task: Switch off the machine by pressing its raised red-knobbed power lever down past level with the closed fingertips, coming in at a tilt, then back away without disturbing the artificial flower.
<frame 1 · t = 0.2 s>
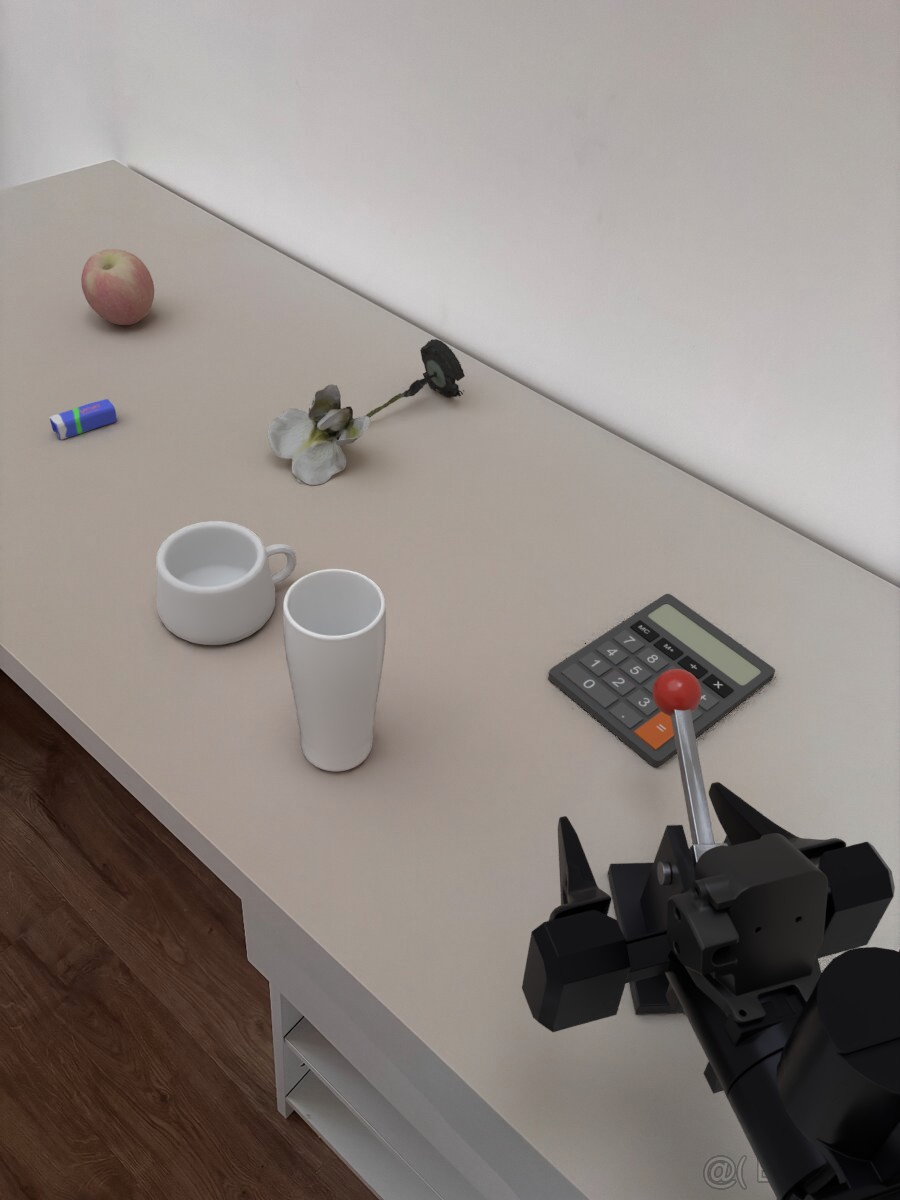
hand: (638, 803, 59), 15 cm above the table, tool horizontal, fingers open, 9 cm apart
apple: (124, 322, 121), on the table
lever: (691, 776, 67), point 10 cm above the table, hinge at 15.0°
switch bracket: (680, 938, 69), on the table
artificial flower: (373, 436, 108), on the table
drinking glass: (336, 748, 79), on the table
calculator: (661, 678, 86), on the table
eraser: (85, 429, 106), on the table
mug: (231, 605, 89), on the table
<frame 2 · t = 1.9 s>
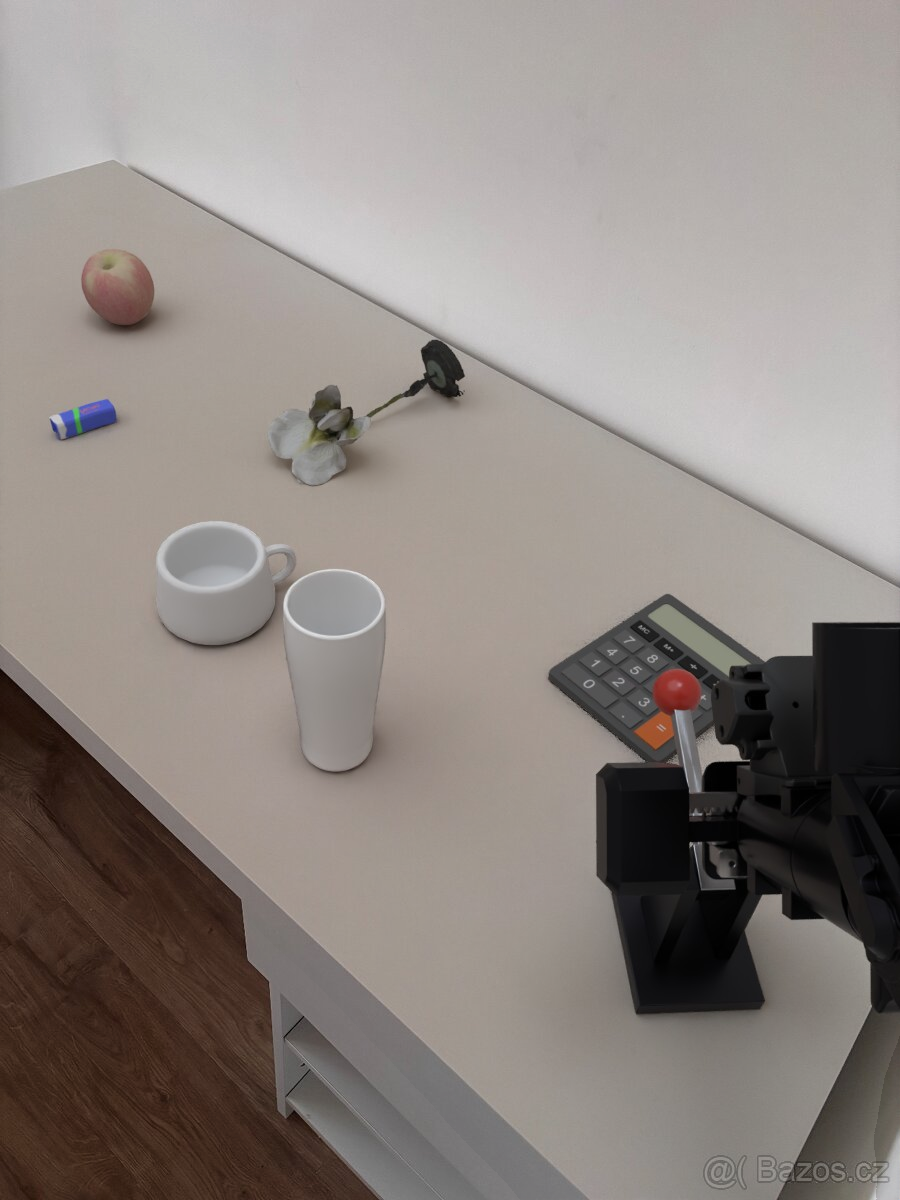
hand: (725, 796, 61), 14 cm above the table, tool tilted 45°, fingers closed
nothing on the table moved.
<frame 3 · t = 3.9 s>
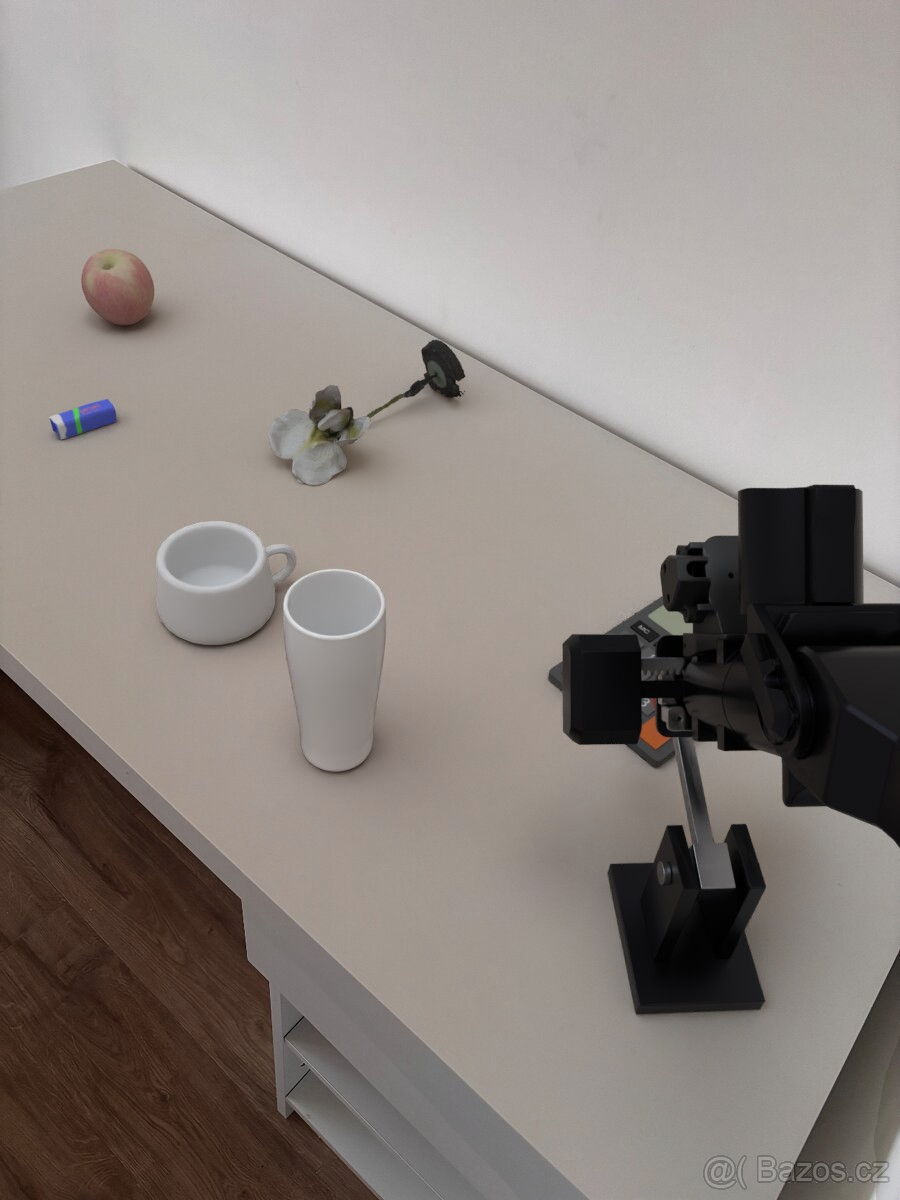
hand: (680, 678, 69), 12 cm above the table, tool tilted 45°, fingers closed, pressing on lever
lever: (690, 778, 67), point 9 cm above the table, hinge at 12.3°, touching gripper
everything else where it was.
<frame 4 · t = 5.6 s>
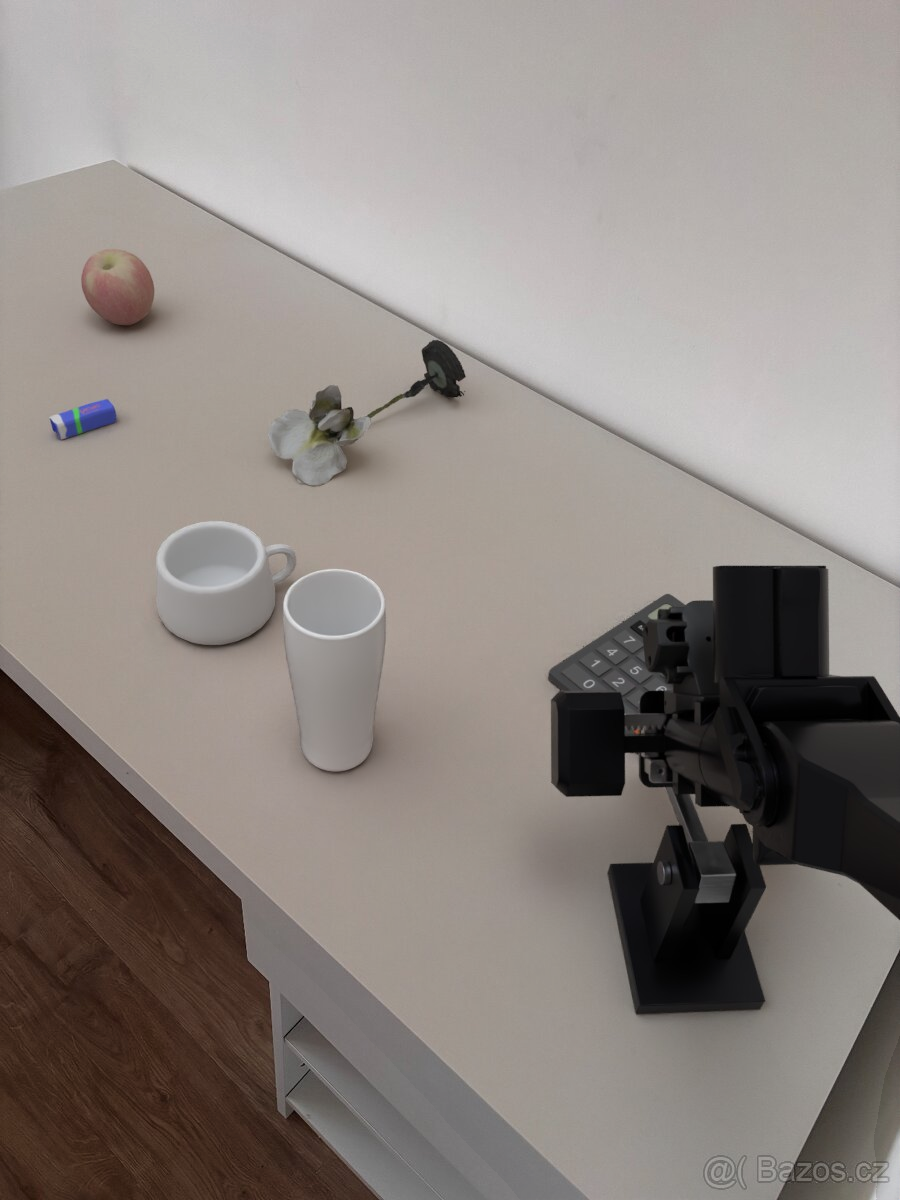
hand: (664, 727, 73), 7 cm above the table, tool tilted 45°, fingers closed, pressing on lever
lever: (681, 802, 69), point 7 cm above the table, hinge at -12.2°, touching gripper
everything else where it was.
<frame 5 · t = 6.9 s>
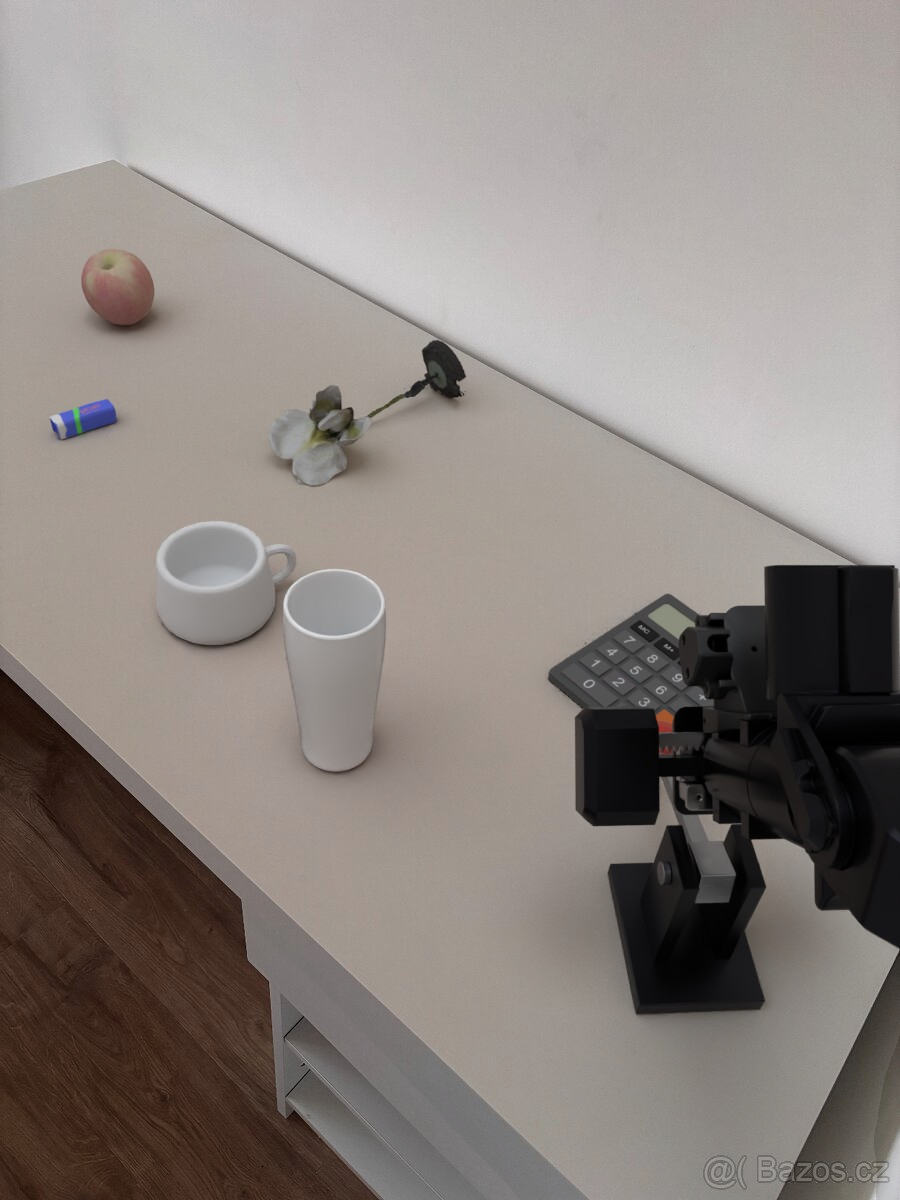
hand: (697, 745, 66), 12 cm above the table, tool tilted 45°, fingers closed
lever: (681, 802, 69), point 7 cm above the table, hinge at -12.2°
everything else where it was.
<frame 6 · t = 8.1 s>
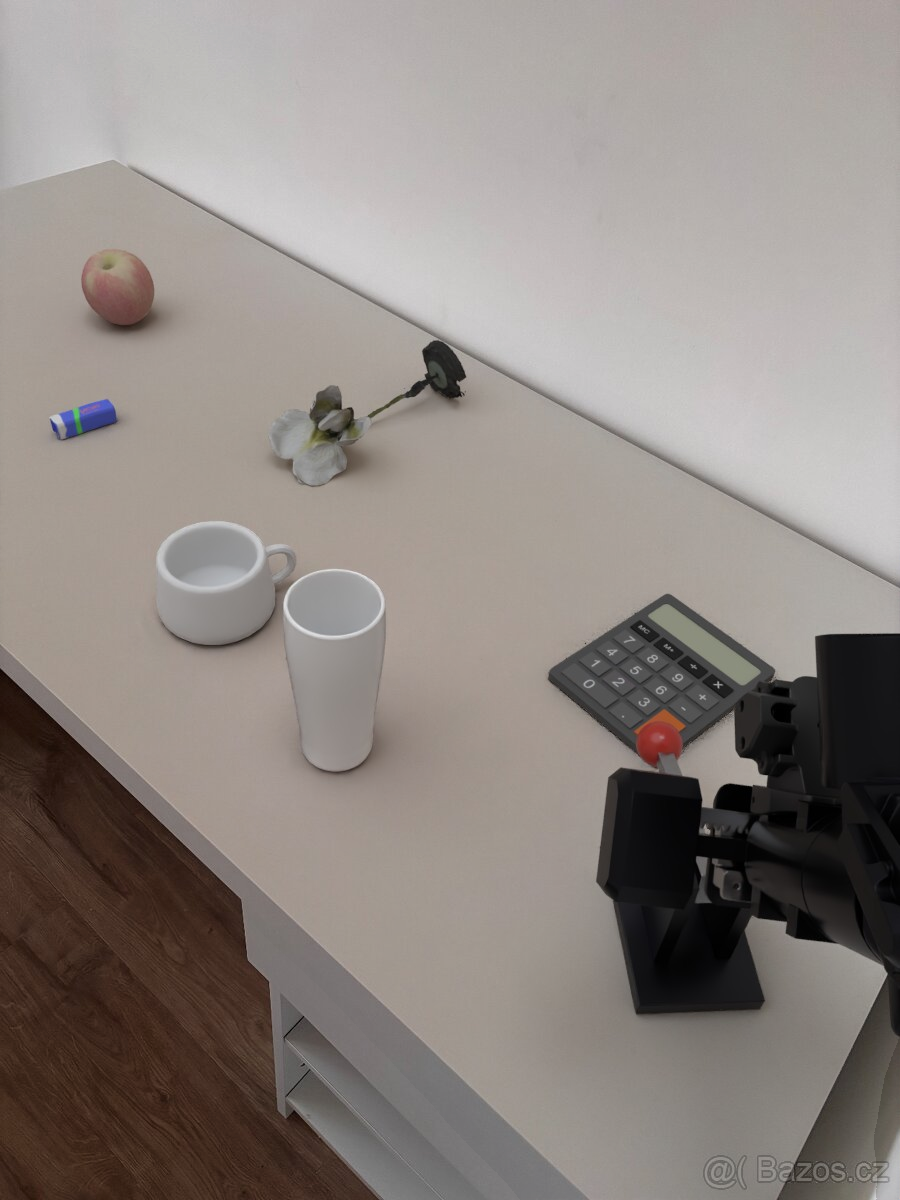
hand: (732, 833, 60), 13 cm above the table, tool tilted 40°, fingers closed
nothing on the table moved.
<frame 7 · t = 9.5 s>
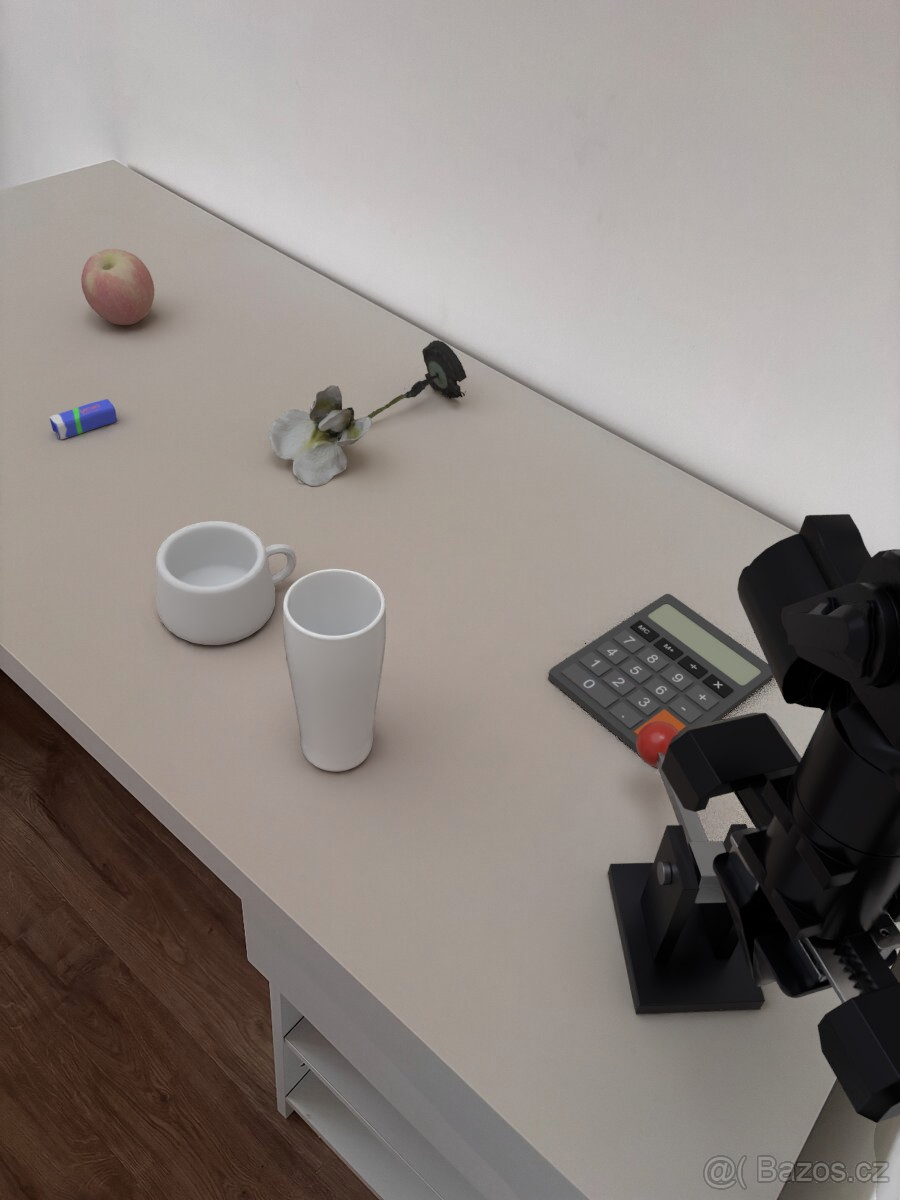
hand: (762, 978, 54), 13 cm above the table, tool pointing down, fingers closed
nothing on the table moved.
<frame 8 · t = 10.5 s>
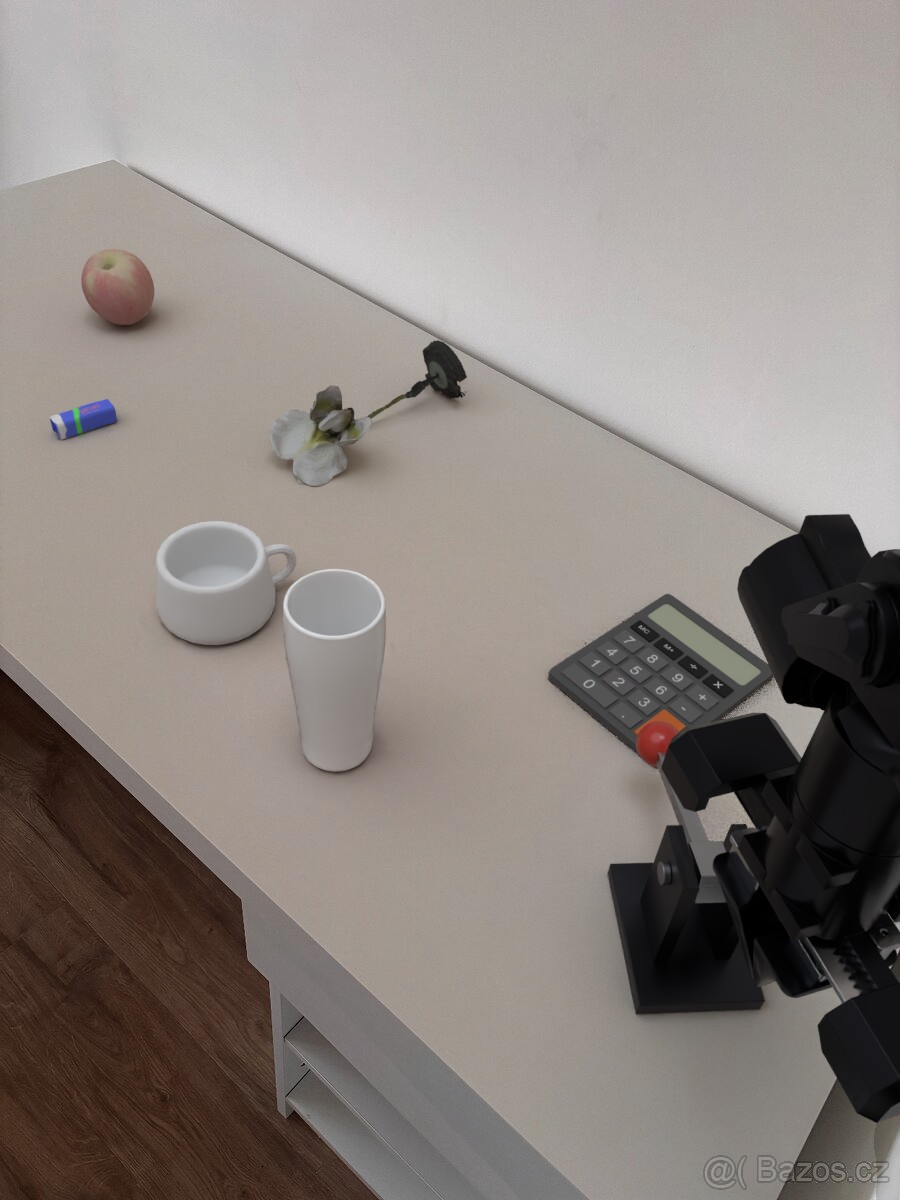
hand: (762, 978, 54), 13 cm above the table, tool pointing down, fingers closed
nothing on the table moved.
at the end: lever at -12° (first picture: +15°); lever reached +15° during the clip, -12° at the end; artificial flower moved 0.3 cm from its start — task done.
